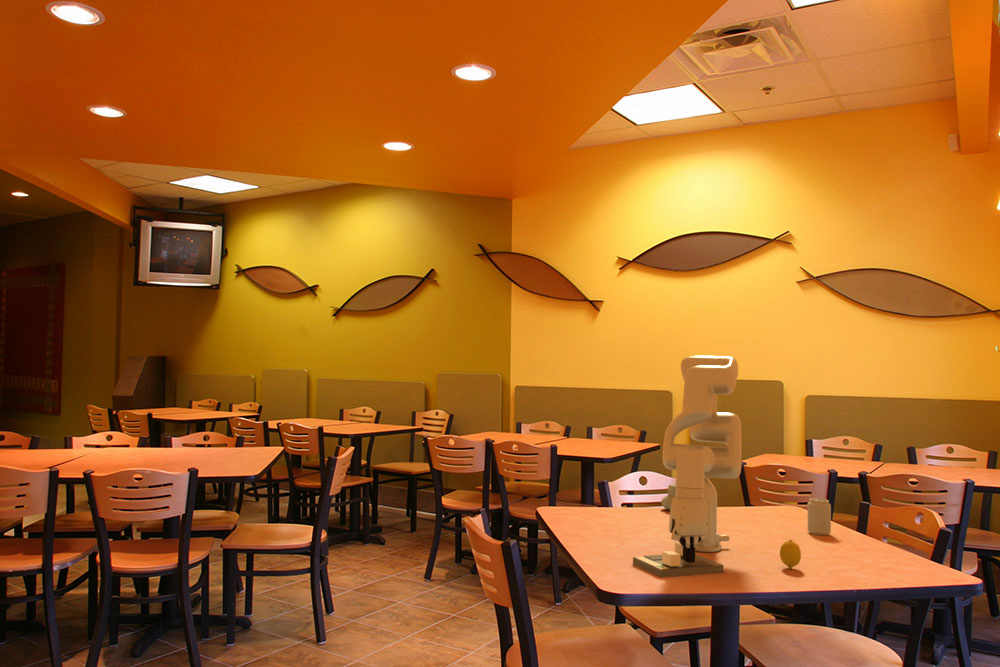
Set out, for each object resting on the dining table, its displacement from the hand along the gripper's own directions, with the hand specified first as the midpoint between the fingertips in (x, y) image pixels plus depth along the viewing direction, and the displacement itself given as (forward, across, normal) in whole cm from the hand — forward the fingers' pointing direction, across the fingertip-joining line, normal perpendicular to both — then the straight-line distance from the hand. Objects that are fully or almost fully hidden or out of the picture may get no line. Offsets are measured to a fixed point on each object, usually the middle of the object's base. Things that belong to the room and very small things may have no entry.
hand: (688, 561), depth 202 cm
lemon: (+3, -31, +3) cm, 32 cm away
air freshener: (+4, -52, -85) cm, 99 cm away
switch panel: (+3, +1, -4) cm, 5 cm away
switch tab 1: (0, +6, 0) cm, 6 cm away
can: (+4, -77, -34) cm, 84 cm away
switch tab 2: (0, -4, -9) cm, 10 cm away
